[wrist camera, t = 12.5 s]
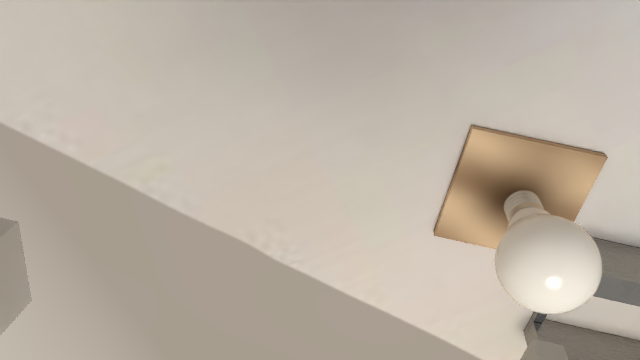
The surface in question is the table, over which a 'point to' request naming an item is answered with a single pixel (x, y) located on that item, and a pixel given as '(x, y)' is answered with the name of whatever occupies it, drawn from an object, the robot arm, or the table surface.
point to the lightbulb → (545, 258)
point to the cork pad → (512, 183)
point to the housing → (616, 284)
